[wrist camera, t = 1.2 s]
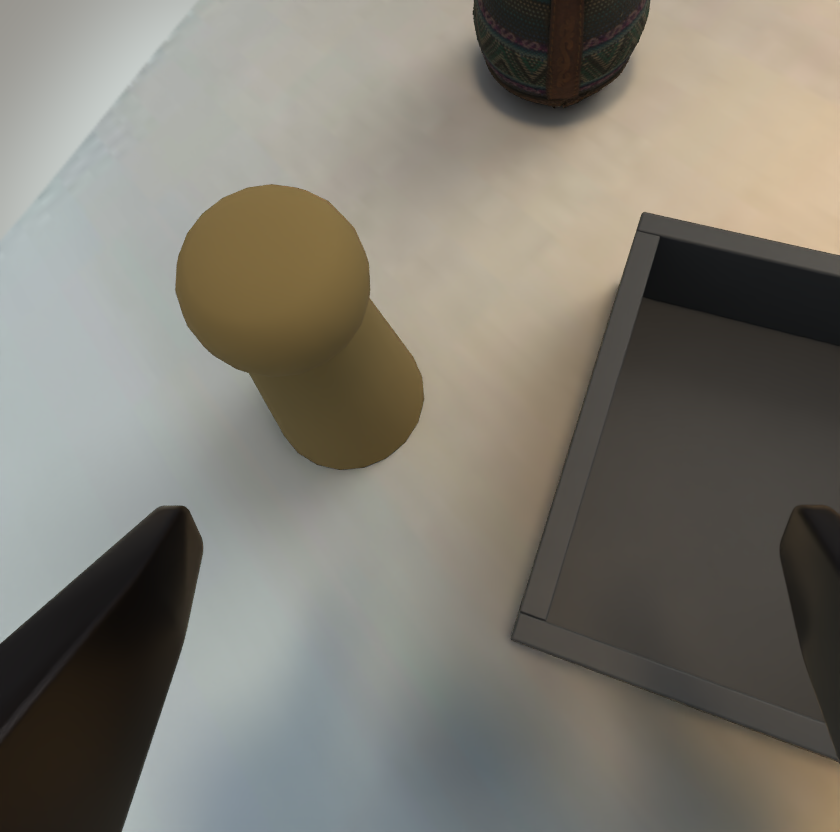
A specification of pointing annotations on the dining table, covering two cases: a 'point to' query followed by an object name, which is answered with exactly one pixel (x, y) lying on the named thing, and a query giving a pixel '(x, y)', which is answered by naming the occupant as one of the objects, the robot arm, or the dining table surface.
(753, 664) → the bin
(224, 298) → the tan pawn figure
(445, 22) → the dining table surface
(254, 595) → the dining table surface
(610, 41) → the mate gourd
